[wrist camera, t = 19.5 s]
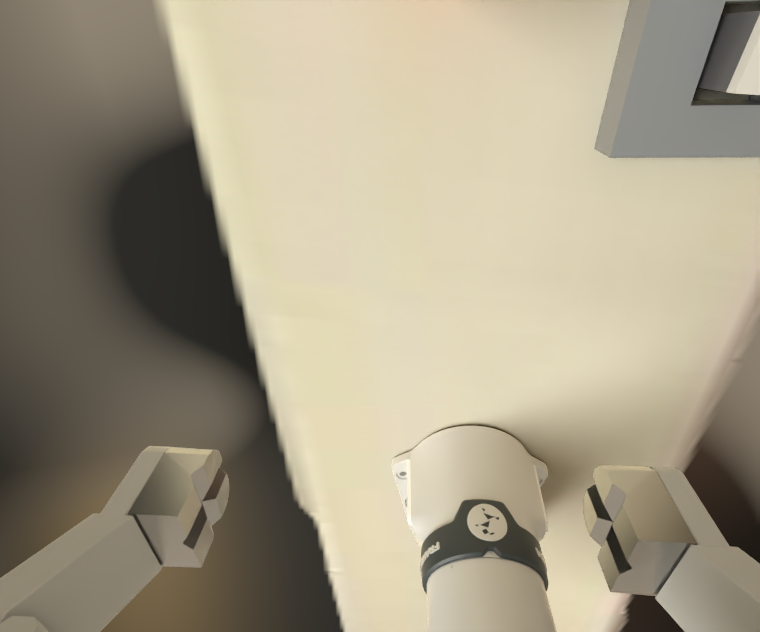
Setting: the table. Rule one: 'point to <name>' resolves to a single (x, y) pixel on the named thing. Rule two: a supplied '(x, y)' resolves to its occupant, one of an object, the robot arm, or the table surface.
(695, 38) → the socket
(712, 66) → the plug
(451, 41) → the table surface
